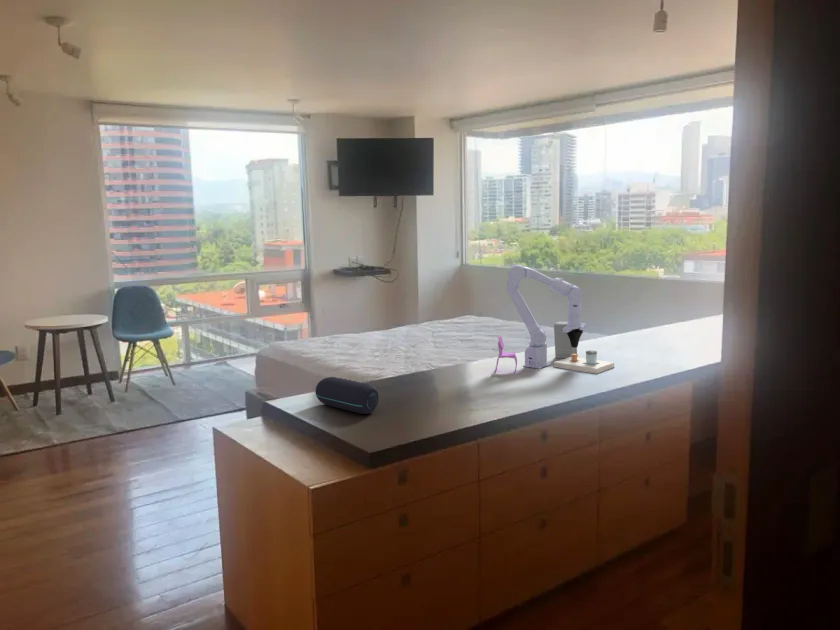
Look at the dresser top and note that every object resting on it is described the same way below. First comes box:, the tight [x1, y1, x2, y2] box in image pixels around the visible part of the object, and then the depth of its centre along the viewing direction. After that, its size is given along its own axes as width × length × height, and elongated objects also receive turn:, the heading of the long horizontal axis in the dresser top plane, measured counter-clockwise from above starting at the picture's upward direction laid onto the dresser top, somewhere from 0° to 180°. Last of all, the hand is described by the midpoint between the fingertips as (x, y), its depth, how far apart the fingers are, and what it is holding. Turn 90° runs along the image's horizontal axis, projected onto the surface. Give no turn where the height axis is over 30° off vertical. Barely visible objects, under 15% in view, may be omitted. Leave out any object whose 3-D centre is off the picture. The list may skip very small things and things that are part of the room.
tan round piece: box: [571, 353, 579, 362], centre depth 274 cm, size 3×3×3 cm
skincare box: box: [553, 321, 578, 359], centre depth 291 cm, size 8×7×16 cm
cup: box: [585, 350, 598, 365], centre depth 269 cm, size 4×4×7 cm
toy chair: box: [494, 335, 518, 374], centre depth 267 cm, size 8×9×15 cm
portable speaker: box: [315, 376, 379, 415], centre depth 221 cm, size 25×10×10 cm, turn 48°
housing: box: [553, 356, 615, 375], centre depth 272 cm, size 14×20×2 cm
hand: (574, 347), depth 274 cm, fingers closed
